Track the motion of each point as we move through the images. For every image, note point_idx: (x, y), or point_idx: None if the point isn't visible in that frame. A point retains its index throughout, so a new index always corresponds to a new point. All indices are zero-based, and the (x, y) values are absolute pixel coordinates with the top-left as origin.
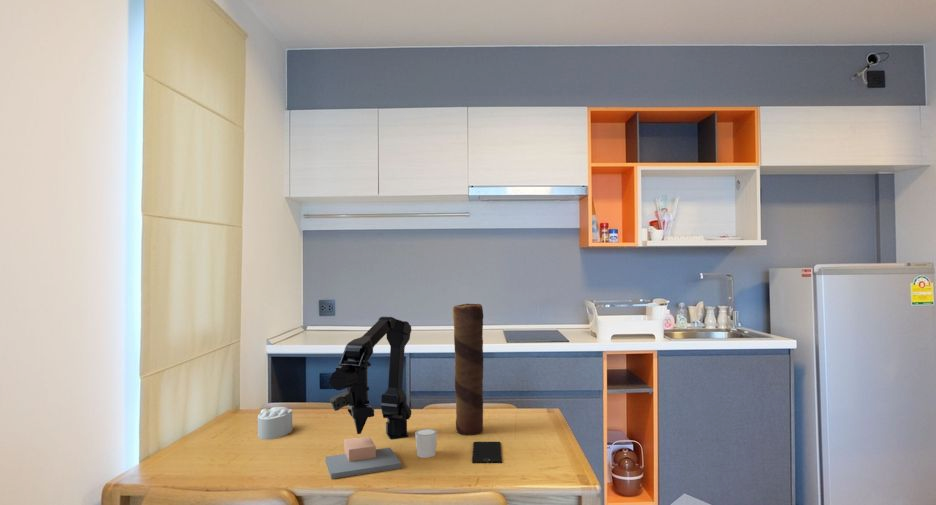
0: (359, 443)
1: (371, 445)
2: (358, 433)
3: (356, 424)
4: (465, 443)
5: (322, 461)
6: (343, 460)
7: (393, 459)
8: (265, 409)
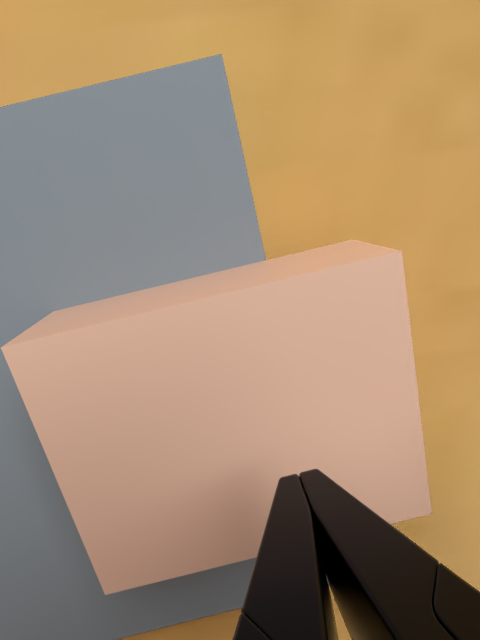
0: (212, 440)
1: (127, 557)
2: (282, 491)
3: (242, 625)
4: None
5: (229, 37)
6: (85, 258)
7: (74, 622)
8: None
